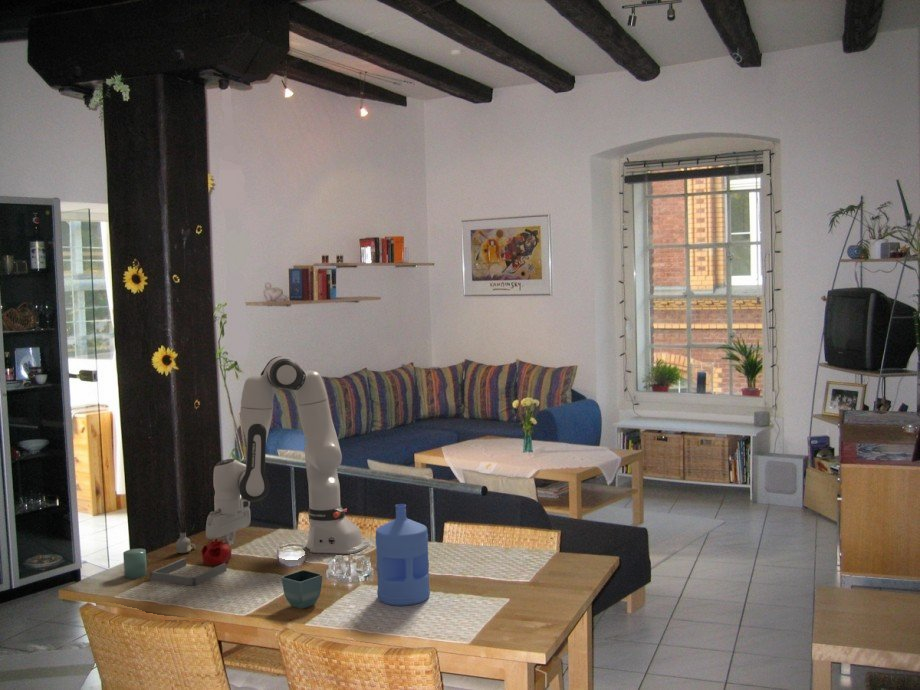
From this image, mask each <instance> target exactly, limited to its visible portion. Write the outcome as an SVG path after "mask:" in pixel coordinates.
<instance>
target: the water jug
mask: <svg viewBox="0 0 920 690" xmlns="http://www.w3.org/2000/svg"><path fill="white" fill-rule="evenodd" d="M406 508H407V504H405V503H397V504H395V518H394V519H391V520H390V521H389V522H386V523H383V525H380V526H379V527H377V528H376V530H375V548H376V552H375V553H376V573H377V575H376V576H377V577H376V578H377V591H376V593H377V598H378V600H379V601H380V602H381V603H383V604H386V605H390V606H395V607H396V606H397V607H405V606H406V607H407V606H411V605H417V604H421V603H423V602H425V601H426V600H428V599H429V597H430V595H431V589H430V571H429V569H430V564H429V534H428V528H427V526H426V525H424V524H422V523H420V522H418V521H414V520H413V519H410V518H408V517H407V509H406Z"/></svg>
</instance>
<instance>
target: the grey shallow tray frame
mask: <svg viewBox="0 0 920 690" xmlns="http://www.w3.org/2000/svg"><path fill="white" fill-rule="evenodd" d="M186 566H187V558H186V557H184V558H181V559H178V560H175V561H174V562H172V563H169V564H167V565H163V566H162V567H159V568H156V569H154V570H151V571H150V572H149V580H150V581H154V582H155V581H156V582H162V583H163V582H164V583H168V584H169V583H171V584H176V585H177V584H178V585H184V586H191V587H192V586H193V587H195V586H197V585H199V584H201V583H204V582H205V581H208V580H210V579H212V578H215V577H216V576H219V575H221V574H223V573H224V572H227V569H228V568H227V567H228V566H227V562H226V563H223V564H221V565H216V566H215V567H212V568H210V569H207V570H206V571H204V572H202V573H199V574H197V575H195V576H191V575H190V576H189V575H181V574H176V573H175V574H174V573H173V572H175V571H177V570H179V569H182V568H184V567H186Z"/></svg>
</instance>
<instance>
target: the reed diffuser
mask: <svg viewBox="0 0 920 690" xmlns="http://www.w3.org/2000/svg"><path fill="white" fill-rule="evenodd" d="M171 501H172V505H173V508H174V511H175V515H176V518H177V519H176V520H177V522H178V526H179V530H180V533H179V534H180V535H179V538H178V539H177V540H176V551H177V553H178V554H185V553H189V552H191V550H195V549H196V548H197V547H196V545H195V544H194V543H191V539H190V538H188V537H187V534H186V527H184V525H186V522H187V521H186V520H187V512H185V514H184V515H185V516H184V522H183V518H182V513H181V507H180V501H179V499H177V504H178V509H179V514H180V516H179V515H178V512H177V509H176V506H175V501H174V500H173V499H171ZM187 504H188V496H186V500H185V510H187V507H188V505H187ZM179 517H180V519H179ZM180 520H181V522H180ZM183 523H184V525H183Z"/></svg>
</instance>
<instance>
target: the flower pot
mask: <svg viewBox="0 0 920 690" xmlns="http://www.w3.org/2000/svg"><path fill="white" fill-rule="evenodd" d="M322 582H323V574H321V573H318V572H314V571H309V570H305V569H301V570H298V571H295V572H292V573H289V574H286V575H283V576H281V584H282V590H283V594H284V597H285V599H286V601H287V602H288V604H289V605H290V606H291V607H293V608H294V607H295V608H297V609H301V610H303V609H306V608H308V607H312V606H314V605H315V604H316V603H317V602H318V599H319V598H320V595H321V592H322V591H321V590H322V584H323V583H322Z"/></svg>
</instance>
